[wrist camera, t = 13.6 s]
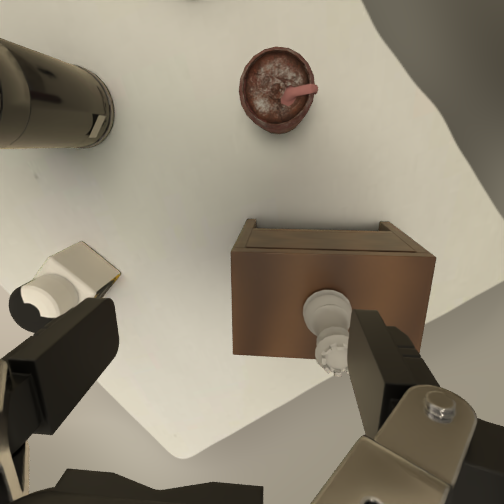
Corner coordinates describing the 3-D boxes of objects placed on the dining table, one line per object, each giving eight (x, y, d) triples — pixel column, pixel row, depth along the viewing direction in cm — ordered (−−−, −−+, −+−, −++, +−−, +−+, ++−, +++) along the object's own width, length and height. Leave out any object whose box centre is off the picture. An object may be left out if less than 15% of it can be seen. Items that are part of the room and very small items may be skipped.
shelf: (247, 295, 47) (232, 354, 34) (247, 218, 44) (230, 251, 31) (379, 300, 46) (417, 365, 32) (389, 221, 42) (436, 257, 29)
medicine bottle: (96, 305, 50) (41, 352, 39) (56, 274, 49) (-12, 313, 38) (122, 272, 48) (72, 312, 37) (81, 239, 47) (17, 270, 36)
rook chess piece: (343, 334, 32) (361, 393, 25) (297, 324, 32) (301, 380, 25) (356, 293, 31) (380, 342, 23) (308, 282, 31) (316, 328, 23)
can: (310, 128, 40) (323, 121, 27) (257, 138, 41) (244, 135, 28) (304, 72, 38) (314, 34, 25) (249, 83, 39) (231, 52, 26)
